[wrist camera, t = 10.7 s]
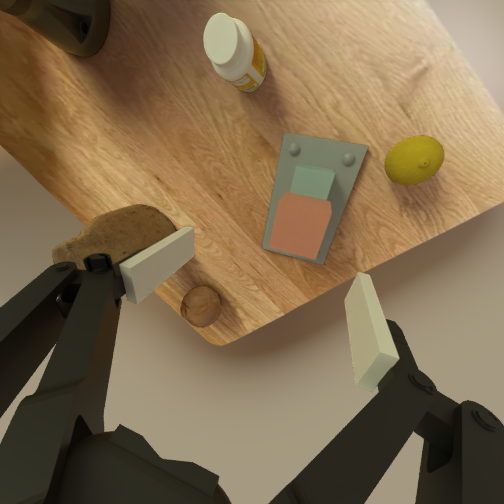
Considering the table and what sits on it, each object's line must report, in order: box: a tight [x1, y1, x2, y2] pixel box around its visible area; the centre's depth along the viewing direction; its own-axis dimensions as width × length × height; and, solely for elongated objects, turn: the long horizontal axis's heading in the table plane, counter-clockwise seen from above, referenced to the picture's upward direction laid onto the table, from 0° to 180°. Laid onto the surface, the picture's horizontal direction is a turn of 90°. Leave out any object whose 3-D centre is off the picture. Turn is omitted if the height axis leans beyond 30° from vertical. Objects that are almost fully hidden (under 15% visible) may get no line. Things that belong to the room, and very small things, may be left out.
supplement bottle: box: [203, 13, 267, 92], centre depth 25 cm, size 5×5×10 cm
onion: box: [180, 285, 221, 328], centre depth 49 cm, size 10×9×10 cm
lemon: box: [385, 135, 444, 185], centre depth 25 cm, size 6×6×8 cm
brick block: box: [269, 192, 332, 260], centre depth 27 cm, size 6×6×6 cm
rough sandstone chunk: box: [52, 204, 175, 270], centre depth 39 cm, size 11×8×20 cm
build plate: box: [262, 132, 368, 265], centre depth 32 cm, size 20×12×7 cm, turn 171°
